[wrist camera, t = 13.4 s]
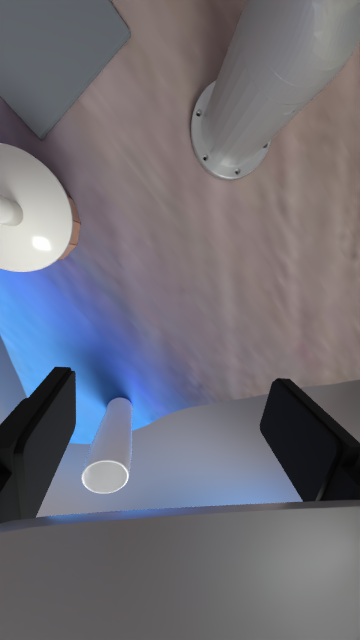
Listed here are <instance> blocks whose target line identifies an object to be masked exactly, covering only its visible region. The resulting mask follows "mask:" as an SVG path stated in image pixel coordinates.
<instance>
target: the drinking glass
mask: <svg viewBox="0 0 360 640" xmlns="http://www.w3.org/2000/svg"><path fill="white" fill-rule="evenodd" d="M132 412H133V406H132V404H131V402H130V401H129V400H127V399H125V398H115V399H113V400H111V401H110V402H109V403H108V405H107V408H106V411H105V413H104V416H103V418H102V421H101V423H100V425H99V428H98V430H97V432H96V435H95V437H94V439H93V442H92V444H91V447H90V449H89V452H88V455H87V458H86V461H85V465H84V469H83V472H82V482H83V484H84V486H85V487H86V488H87V489H89V490H91V491H93V492H96V493H102V494H103V493H104V494H105V493H112V492H115V491H117V490H119V489H120V488H122V487H123V486H124V485H125V484H126V482H127V480H128V477H129V471H130V464H131V453H132Z"/></svg>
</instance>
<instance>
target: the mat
mask: <svg viewBox="0 0 360 640" xmlns="http://www.w3.org/2000/svg"><path fill="white" fill-rule="evenodd" d="M130 36H131V34H130V30H129V29H128V28H127V26H126V25H125V23H124V22H123V20H122V19H121V17H120V16H119V14H118V13H117V11H116V10H115V8H114V7H113V5H112V4H111V3H110V1H109V0H0V96H1V97H2V98H3V99H4V101H5V102H6V103H7V104H8V105H9V106H10V107H11V108H12V109H13V110H14V111H15V112H16V114H17V115H18V116H19V117H20V118H21V119H22V120H23V121H24V122H25V123H26V124H27V125H28V126H29V128H30V129H31V130H32V131H33V132H34V133H35V134H36V135H37V136H38V137H39V138H40V139H41V140H42V139H43V138H44V137H45V136H46V135H47V133H48V132H49V131H50V130H51V129H52V128H53V126H54V125H55V124H56V123H57V122H58V121H59V119H60V118H61V117H62V116H63V115H64V114H65V112H66V111H67V110H68V109H69V108H70V106H71V105H72V104H73V103H74V102H75V101H76V99H77V98H78V97H79V96H80V95H81V94H82V92H83V91H84V90H85V89H86V88H87V87H88V85H89V84H90V83H91V82H92V81H93V80H94V78H95V77H96V76H97V75H98V74H99V73H100V71H101V70H102V69H103V68H104V67H105V66H106V64H107V63H108V62H109V61H110V60H111V59H112V57H113V56H114V55H115V54H116V53H117V52H118V50H119V49H120V48H121V47H122V46H123V45H124V43H125V42H126V41H127V40H128V39H129V38H130Z"/></svg>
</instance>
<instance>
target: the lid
mask: <svg viewBox="0 0 360 640" xmlns="http://www.w3.org/2000/svg"><path fill="white" fill-rule="evenodd" d="M72 233H73V213H72V208H71V204H70V201H69V199H68V196H67V194H66V192H65V190H64V188H63V186H62V185H61V183H60V182H59V180H58V179H57V177H56V176H55V175H54V174H53V173H52V172H51V171H50V170H49V169H48V168H47V167H46V166H45V165H44V164H43V163H42V162H40V161H39V160H38V159H36V158H35V157H34V156H32V155H31V154H29V153H27V152H25V151H24V150H21V149H19V148H17V147H14V146H11V145H8V144H3V143H0V268H1V269H4V270H9V271H16V272H28V271H35V270H39V269H43V268H45V267H47V266H50V265H51V264H53V263H54V262H56V261H57V260H58V259H59V258H60V257H61V256H62V255H63V254H64V252H65V251H66V249H67V248H68V246H69V243H70V241H71V238H72Z"/></svg>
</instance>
